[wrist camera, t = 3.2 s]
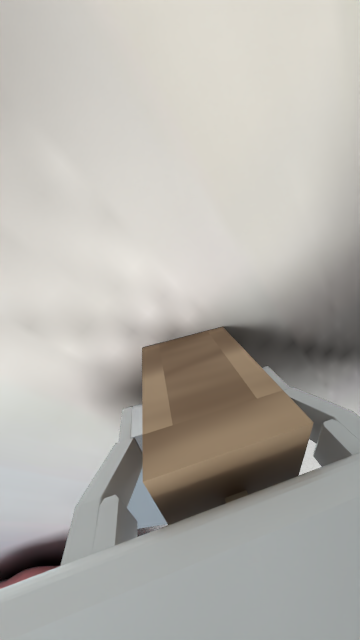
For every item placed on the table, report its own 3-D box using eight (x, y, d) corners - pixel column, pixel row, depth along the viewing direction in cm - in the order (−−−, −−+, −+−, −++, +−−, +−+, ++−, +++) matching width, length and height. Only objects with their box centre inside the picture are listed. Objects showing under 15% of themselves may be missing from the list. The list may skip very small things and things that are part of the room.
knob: (142, 347, 10) (142, 514, 4) (222, 326, 10) (334, 444, 4) (161, 404, 12) (180, 566, 6) (226, 384, 13) (304, 516, 7)
